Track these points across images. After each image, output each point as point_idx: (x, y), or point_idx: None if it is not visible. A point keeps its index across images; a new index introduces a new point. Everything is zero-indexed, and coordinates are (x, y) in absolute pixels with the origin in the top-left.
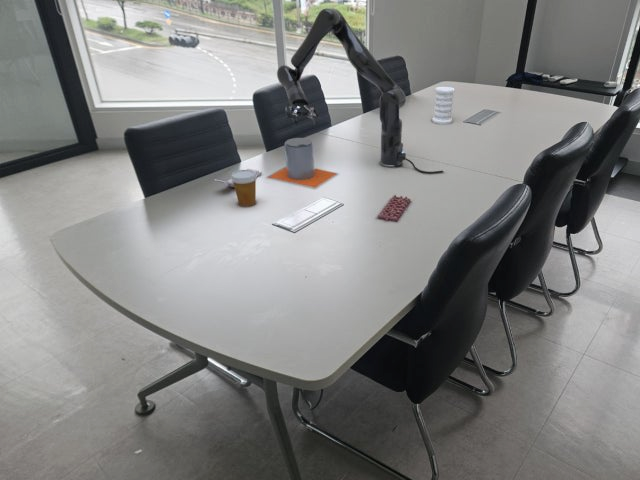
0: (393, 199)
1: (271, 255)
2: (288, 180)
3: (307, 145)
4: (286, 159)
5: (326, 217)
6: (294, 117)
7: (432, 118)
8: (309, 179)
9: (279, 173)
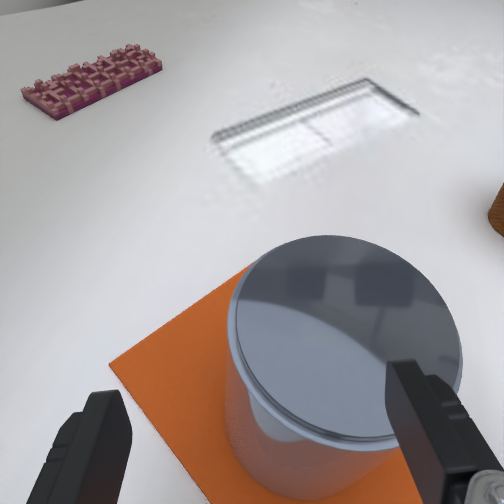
0: (67, 98)
1: (412, 44)
2: None
3: (290, 242)
4: None
5: (281, 102)
6: (459, 442)
7: None
8: None
9: None
